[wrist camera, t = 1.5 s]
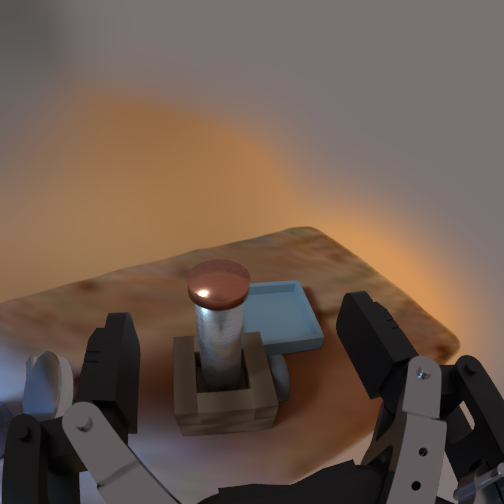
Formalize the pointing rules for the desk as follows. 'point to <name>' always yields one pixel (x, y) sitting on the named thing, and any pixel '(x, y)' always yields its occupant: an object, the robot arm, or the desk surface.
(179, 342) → the block
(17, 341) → the desk surface
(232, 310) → the pin
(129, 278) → the desk surface
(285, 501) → the robot arm
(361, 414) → the desk surface
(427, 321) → the desk surface
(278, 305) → the tray
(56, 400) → the tabbed white plastic disc
